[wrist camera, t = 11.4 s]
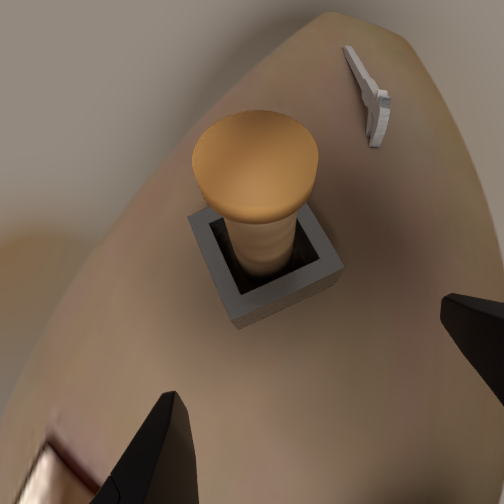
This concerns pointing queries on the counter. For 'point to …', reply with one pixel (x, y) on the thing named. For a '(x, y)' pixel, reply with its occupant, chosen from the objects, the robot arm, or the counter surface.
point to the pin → (257, 186)
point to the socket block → (280, 290)
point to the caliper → (370, 99)
